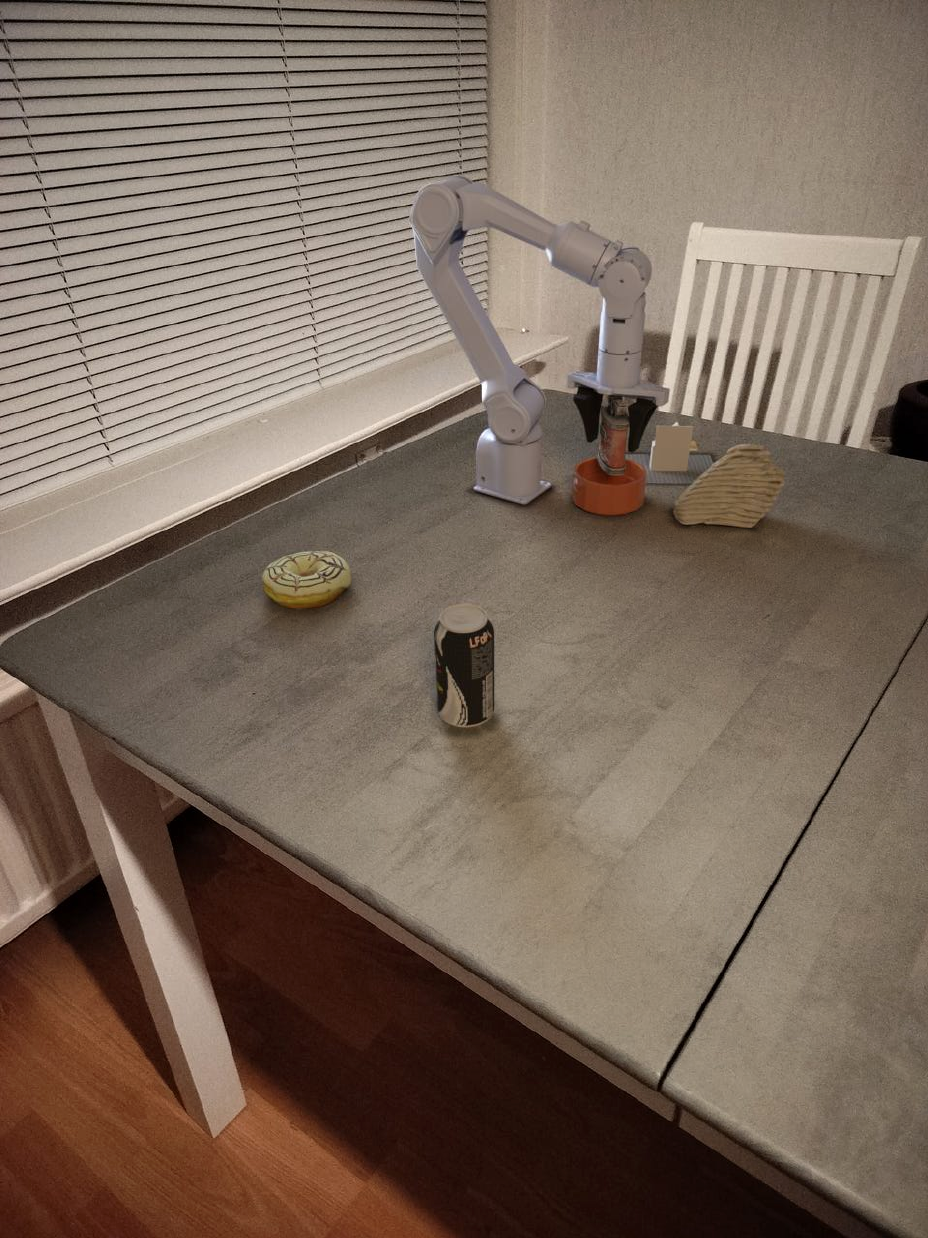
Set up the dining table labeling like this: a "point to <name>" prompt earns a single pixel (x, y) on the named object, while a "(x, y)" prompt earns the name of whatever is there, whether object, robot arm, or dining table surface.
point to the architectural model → (672, 457)
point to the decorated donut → (306, 579)
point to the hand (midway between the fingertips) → (612, 444)
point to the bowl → (608, 488)
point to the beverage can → (464, 665)
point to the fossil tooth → (732, 489)
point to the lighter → (613, 436)
